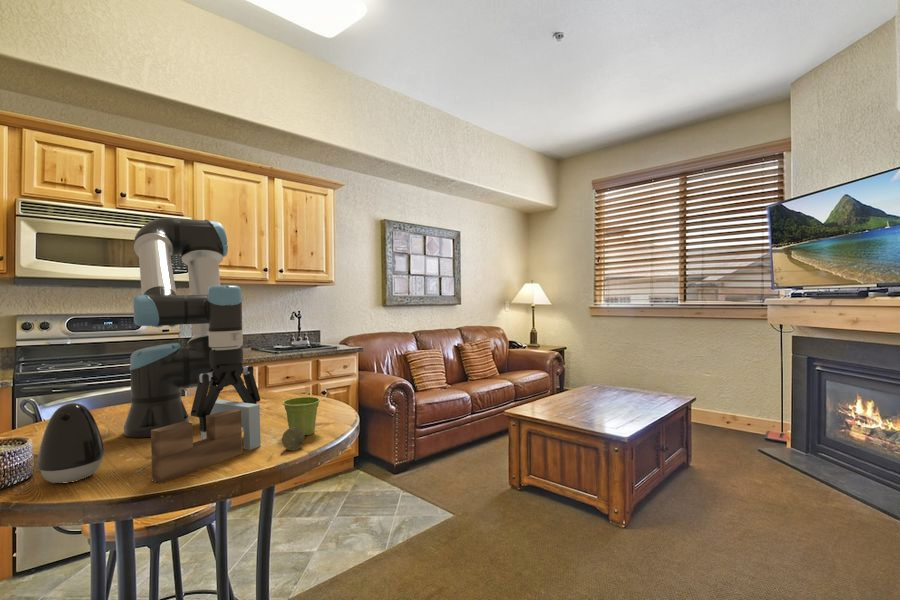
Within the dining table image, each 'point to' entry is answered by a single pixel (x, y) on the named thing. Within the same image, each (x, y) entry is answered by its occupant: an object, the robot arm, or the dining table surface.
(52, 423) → the black two-tone rounded device
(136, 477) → the dining table surface
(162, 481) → the brown notched board
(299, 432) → the dark grey round lump
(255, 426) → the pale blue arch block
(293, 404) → the plant pot
